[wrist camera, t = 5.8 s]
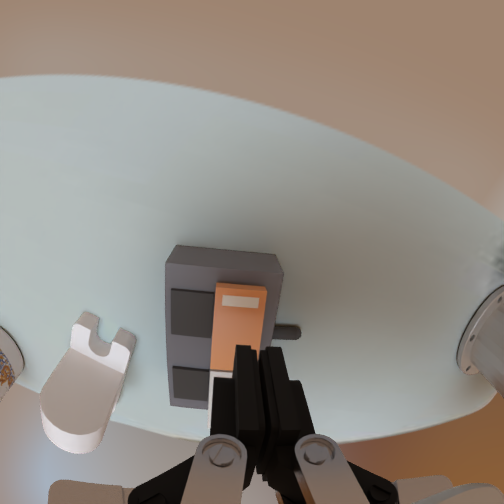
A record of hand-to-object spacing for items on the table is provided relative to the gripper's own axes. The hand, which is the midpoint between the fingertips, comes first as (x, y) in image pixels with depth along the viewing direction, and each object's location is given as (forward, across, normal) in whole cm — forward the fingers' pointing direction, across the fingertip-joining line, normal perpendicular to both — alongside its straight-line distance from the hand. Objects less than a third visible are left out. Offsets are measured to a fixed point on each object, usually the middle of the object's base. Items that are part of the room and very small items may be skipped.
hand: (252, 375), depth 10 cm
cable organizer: (+11, +12, +11) cm, 20 cm away
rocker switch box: (+11, 0, +5) cm, 12 cm away
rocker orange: (+6, 0, +2) cm, 6 cm away
